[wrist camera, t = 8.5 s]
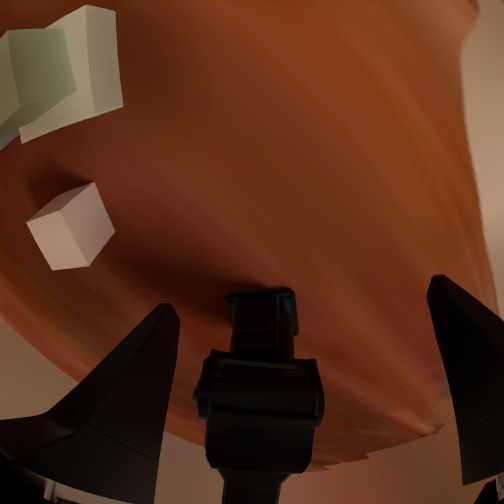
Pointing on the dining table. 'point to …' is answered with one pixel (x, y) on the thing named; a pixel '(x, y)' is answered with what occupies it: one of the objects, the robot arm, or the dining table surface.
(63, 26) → the cream base
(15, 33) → the sage cube
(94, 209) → the pink cube
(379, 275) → the dining table surface
